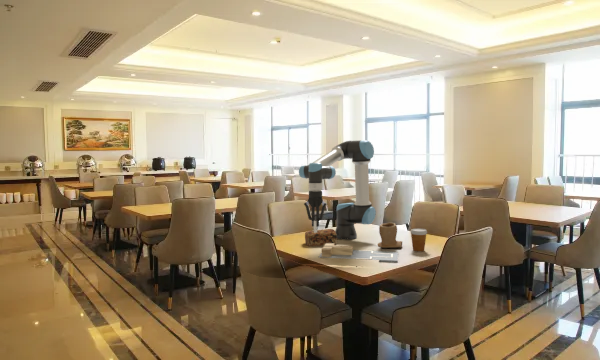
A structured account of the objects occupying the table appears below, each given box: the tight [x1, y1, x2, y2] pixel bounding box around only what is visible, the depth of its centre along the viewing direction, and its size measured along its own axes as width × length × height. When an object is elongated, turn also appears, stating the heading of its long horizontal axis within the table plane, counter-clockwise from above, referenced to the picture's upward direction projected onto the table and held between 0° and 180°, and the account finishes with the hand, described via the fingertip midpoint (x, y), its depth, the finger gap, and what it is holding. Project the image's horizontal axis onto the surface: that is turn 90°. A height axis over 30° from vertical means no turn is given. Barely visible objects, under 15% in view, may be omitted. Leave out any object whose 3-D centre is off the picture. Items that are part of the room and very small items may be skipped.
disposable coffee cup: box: [409, 228, 428, 252], centre depth 251 cm, size 10×10×12 cm
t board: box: [318, 249, 399, 263], centre depth 239 cm, size 20×42×1 cm, turn 78°
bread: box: [304, 228, 338, 247], centre depth 267 cm, size 19×11×10 cm, turn 97°
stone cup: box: [377, 222, 403, 249], centre depth 258 cm, size 15×12×15 cm
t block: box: [321, 243, 354, 257], centre depth 241 cm, size 16×16×4 cm
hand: (315, 232), depth 243 cm, fingers closed
